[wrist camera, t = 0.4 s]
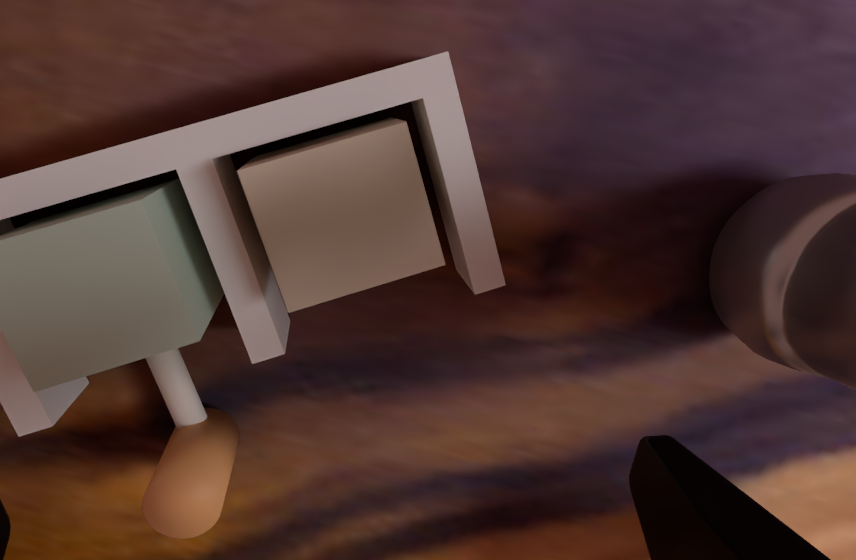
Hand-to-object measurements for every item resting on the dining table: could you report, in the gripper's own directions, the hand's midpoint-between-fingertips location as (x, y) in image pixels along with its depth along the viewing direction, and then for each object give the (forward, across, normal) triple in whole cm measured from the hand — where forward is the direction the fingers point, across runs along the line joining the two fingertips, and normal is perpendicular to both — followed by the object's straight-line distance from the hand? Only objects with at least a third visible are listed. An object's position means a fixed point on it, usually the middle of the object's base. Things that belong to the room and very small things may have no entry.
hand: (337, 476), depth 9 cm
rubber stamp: (+12, +6, +6) cm, 15 cm away
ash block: (+13, 0, +2) cm, 14 cm away
